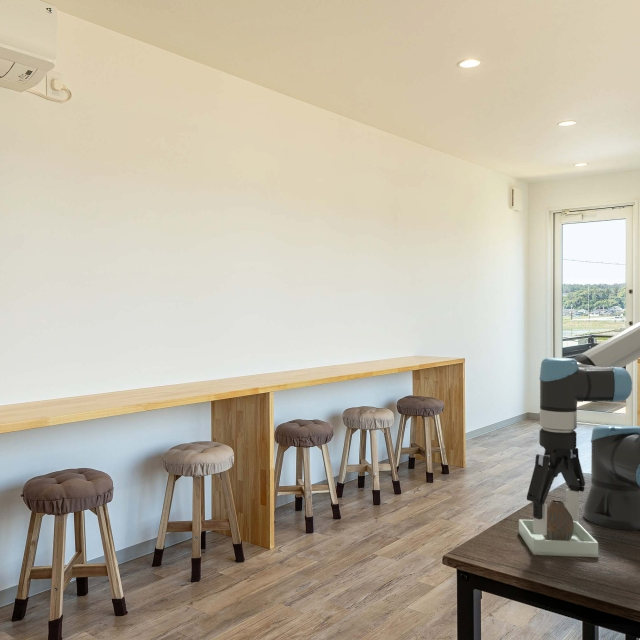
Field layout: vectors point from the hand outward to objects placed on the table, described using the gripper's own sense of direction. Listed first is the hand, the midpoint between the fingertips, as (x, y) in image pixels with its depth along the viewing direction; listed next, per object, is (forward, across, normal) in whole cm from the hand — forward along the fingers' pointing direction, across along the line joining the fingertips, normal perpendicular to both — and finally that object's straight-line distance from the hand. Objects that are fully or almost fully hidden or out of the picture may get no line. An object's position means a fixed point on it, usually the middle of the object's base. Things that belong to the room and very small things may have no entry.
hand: (556, 526), depth 134 cm
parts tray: (+4, 0, 0) cm, 4 cm away
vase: (+4, 0, 0) cm, 4 cm away
